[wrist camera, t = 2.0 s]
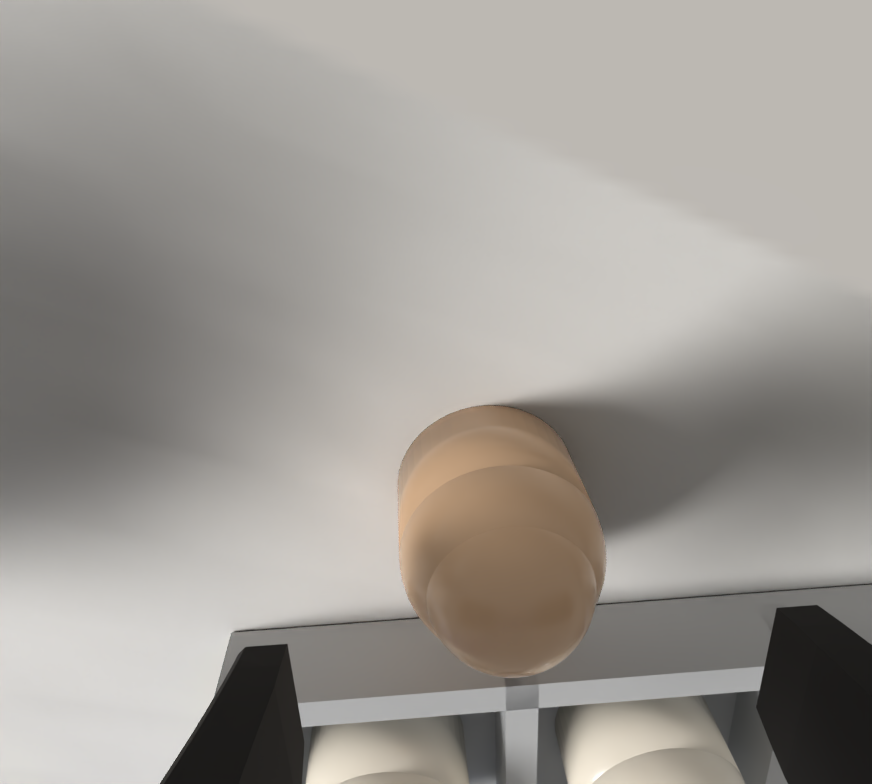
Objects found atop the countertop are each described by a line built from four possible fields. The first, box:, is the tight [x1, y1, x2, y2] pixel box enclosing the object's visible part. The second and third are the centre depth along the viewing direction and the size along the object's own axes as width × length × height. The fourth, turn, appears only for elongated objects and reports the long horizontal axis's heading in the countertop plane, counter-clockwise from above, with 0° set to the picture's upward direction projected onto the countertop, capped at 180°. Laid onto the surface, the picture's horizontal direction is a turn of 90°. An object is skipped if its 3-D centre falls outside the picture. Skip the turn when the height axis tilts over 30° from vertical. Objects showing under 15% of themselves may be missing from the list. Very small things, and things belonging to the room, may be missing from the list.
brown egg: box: [398, 405, 606, 678], centre depth 14 cm, size 4×4×5 cm
